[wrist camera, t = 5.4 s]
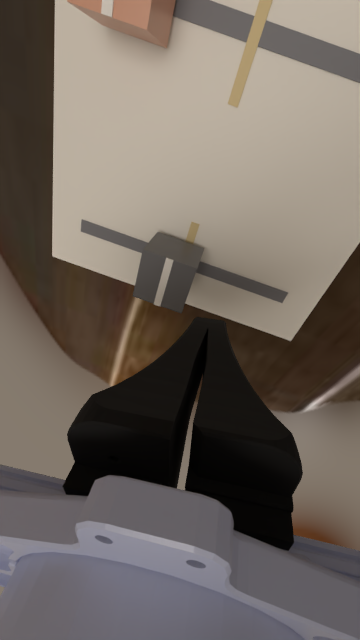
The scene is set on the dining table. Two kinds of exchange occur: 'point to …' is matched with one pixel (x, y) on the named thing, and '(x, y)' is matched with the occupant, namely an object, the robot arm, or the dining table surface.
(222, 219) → the console
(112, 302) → the dining table surface
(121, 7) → the fader terracotta
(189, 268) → the fader charcoal
